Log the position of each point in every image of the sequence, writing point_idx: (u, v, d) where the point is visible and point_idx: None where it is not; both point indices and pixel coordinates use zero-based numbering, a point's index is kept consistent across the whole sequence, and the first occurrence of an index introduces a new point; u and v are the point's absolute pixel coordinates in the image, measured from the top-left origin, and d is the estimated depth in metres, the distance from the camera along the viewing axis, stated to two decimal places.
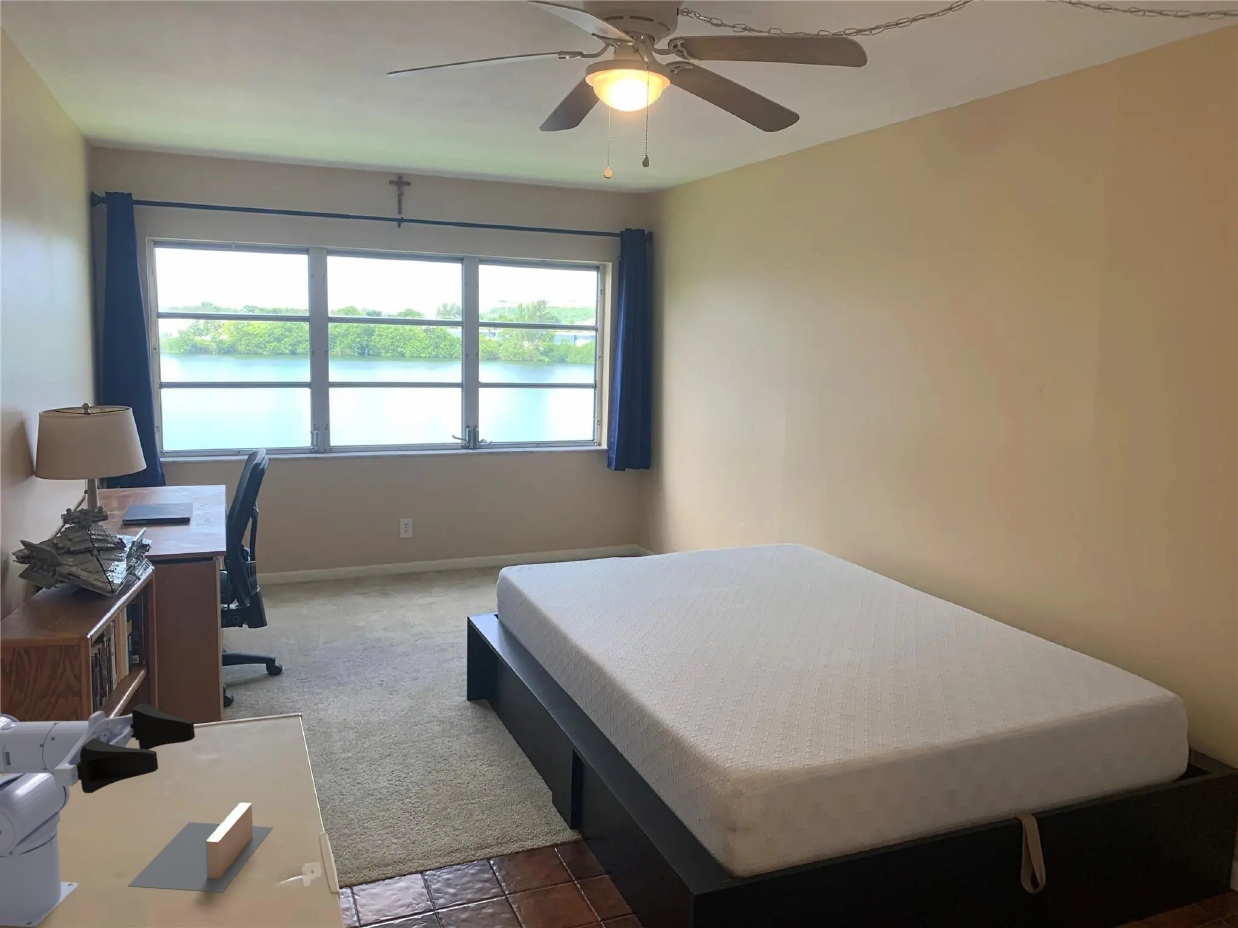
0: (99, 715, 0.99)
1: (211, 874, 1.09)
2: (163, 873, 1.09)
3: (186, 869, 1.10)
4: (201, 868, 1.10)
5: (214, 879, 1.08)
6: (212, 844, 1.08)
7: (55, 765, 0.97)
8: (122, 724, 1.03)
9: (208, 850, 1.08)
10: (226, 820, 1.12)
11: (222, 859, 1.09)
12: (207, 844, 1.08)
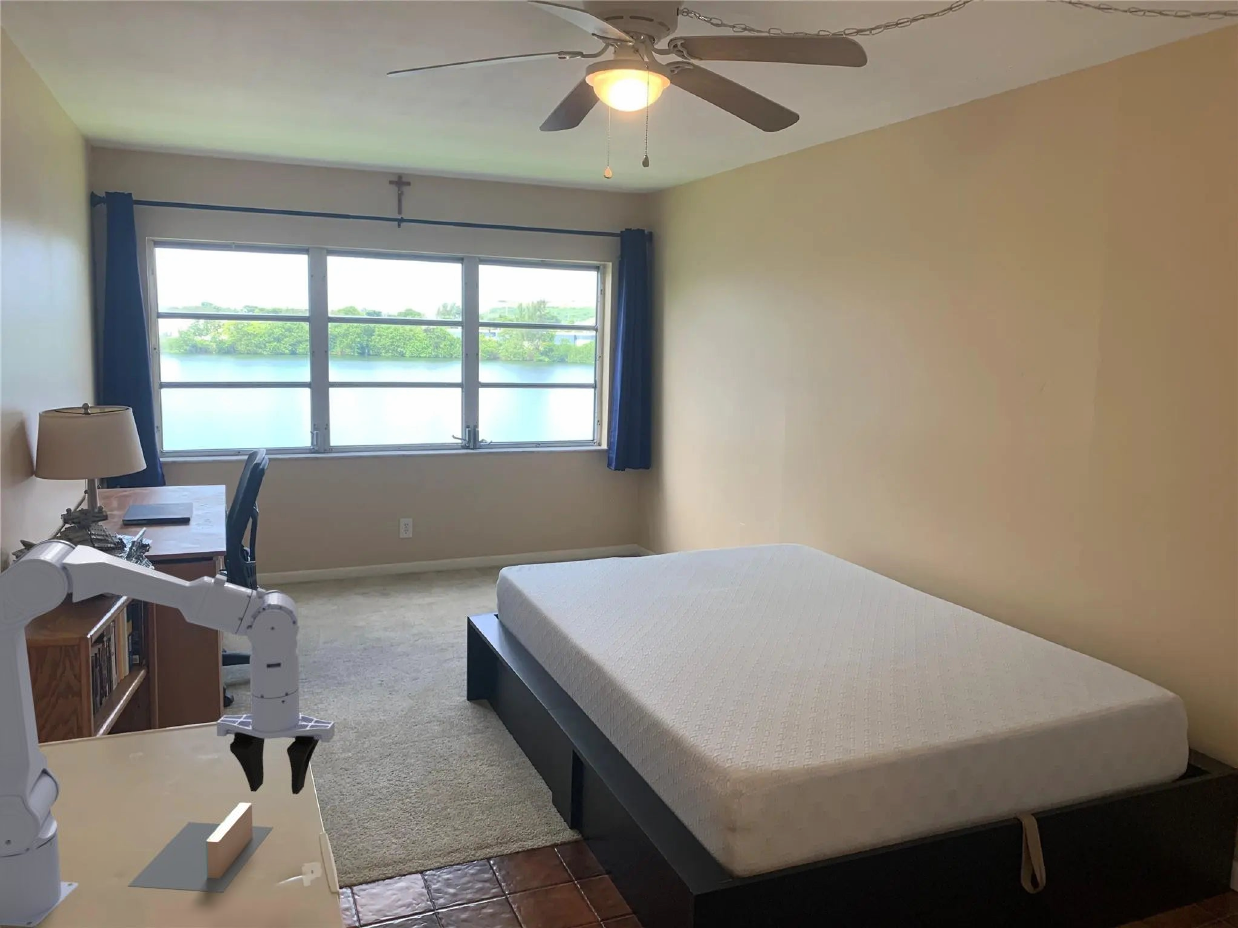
0: None
1: (211, 874, 1.09)
2: (163, 873, 1.09)
3: (186, 869, 1.10)
4: (201, 868, 1.10)
5: (214, 879, 1.08)
6: (212, 844, 1.08)
7: (292, 702, 1.08)
8: None
9: (208, 850, 1.08)
10: (226, 820, 1.12)
11: (222, 859, 1.09)
12: (207, 844, 1.08)
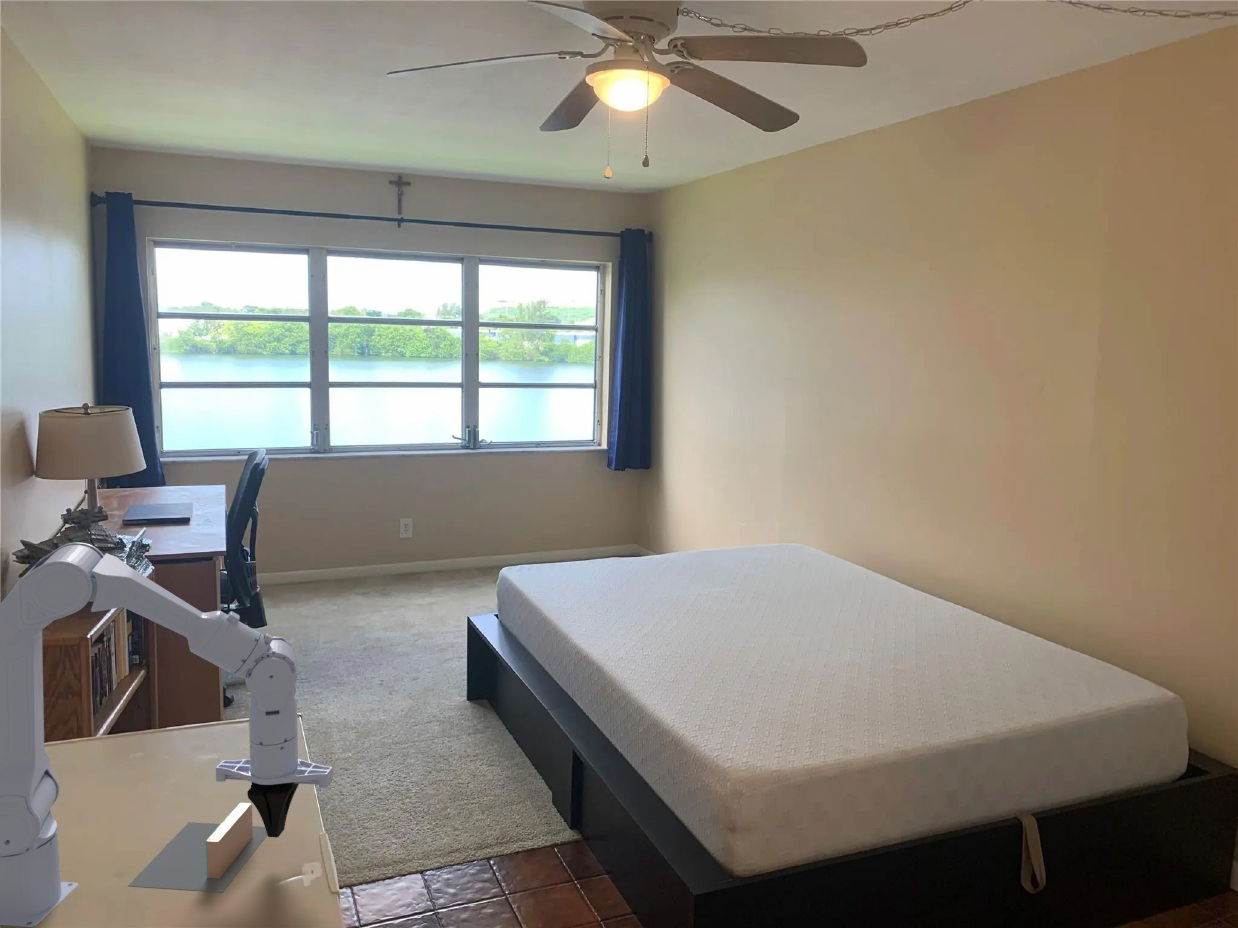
0: None
1: (211, 874, 1.09)
2: (163, 873, 1.09)
3: (186, 869, 1.10)
4: (201, 868, 1.10)
5: (214, 879, 1.08)
6: (212, 844, 1.08)
7: (291, 748, 1.09)
8: None
9: (208, 850, 1.08)
10: (226, 820, 1.12)
11: (222, 859, 1.09)
12: (207, 844, 1.08)
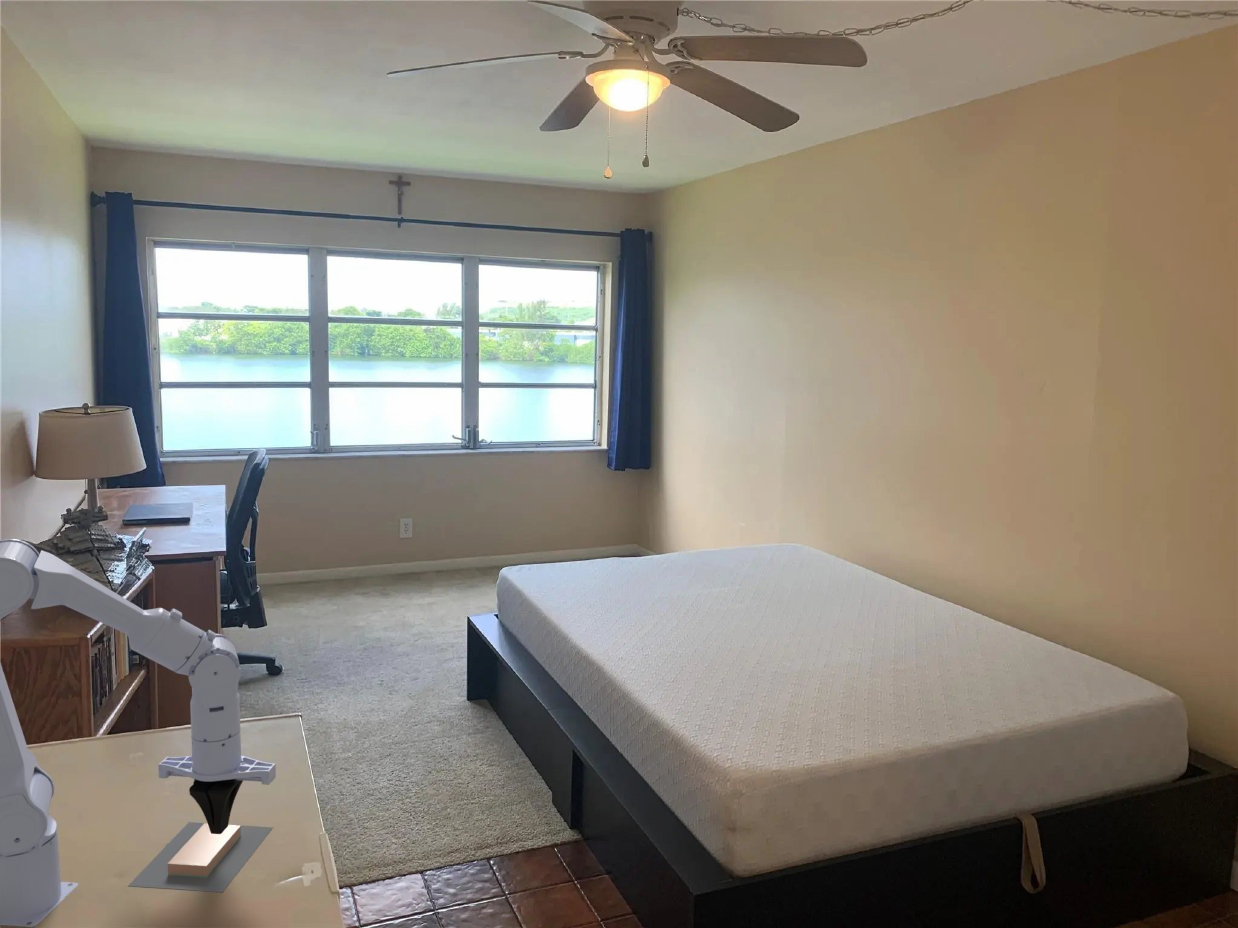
0: None
1: (203, 872, 1.09)
2: (163, 873, 1.09)
3: None
4: None
5: (214, 879, 1.08)
6: (170, 868, 1.09)
7: (233, 745, 1.10)
8: None
9: (177, 873, 1.09)
10: None
11: (194, 860, 1.09)
12: (171, 873, 1.09)
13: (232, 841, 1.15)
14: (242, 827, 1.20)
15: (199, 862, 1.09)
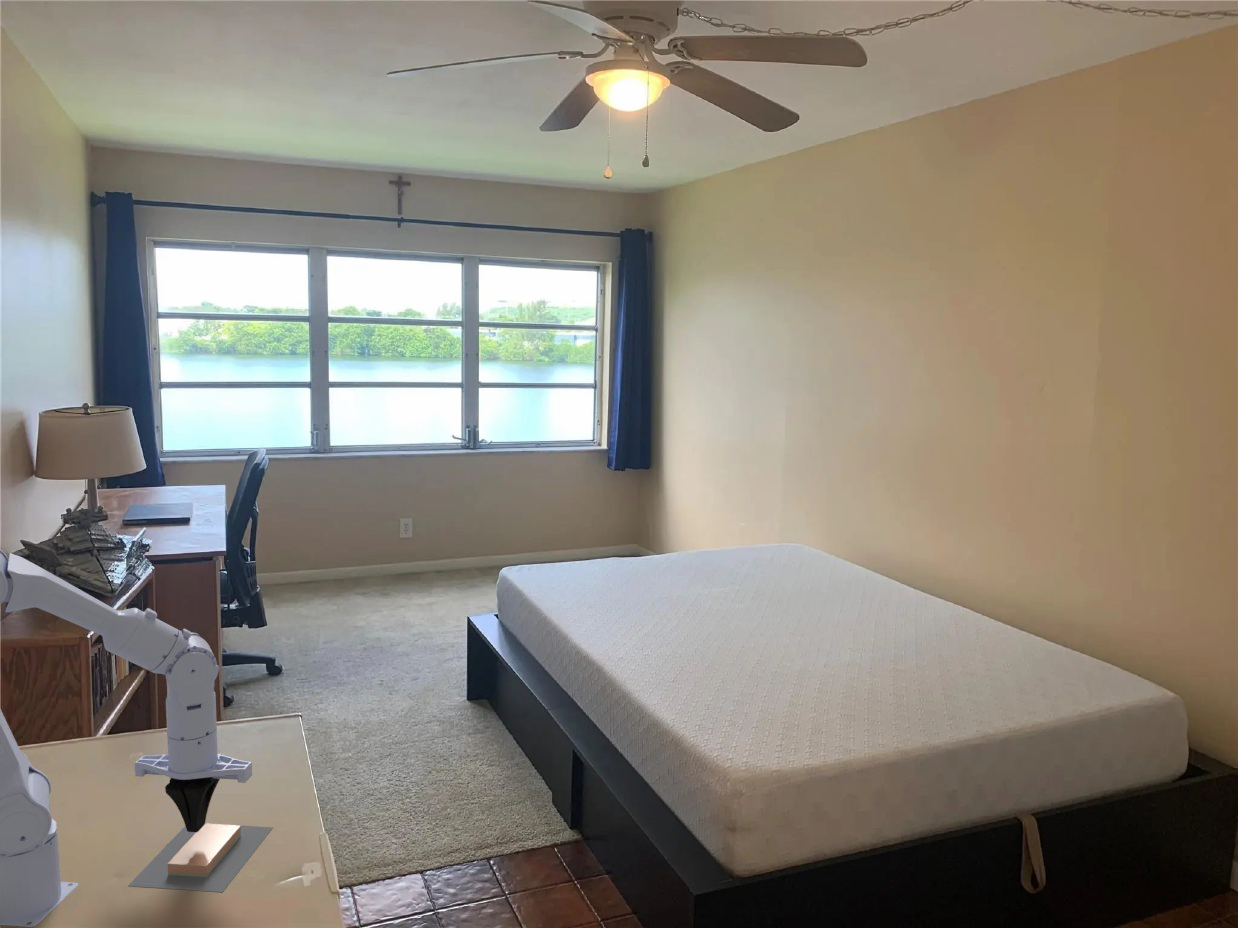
0: None
1: (203, 872, 1.09)
2: (163, 873, 1.09)
3: None
4: None
5: (214, 879, 1.08)
6: (170, 868, 1.09)
7: (209, 743, 1.10)
8: None
9: (177, 873, 1.09)
10: None
11: (194, 860, 1.09)
12: (171, 873, 1.09)
13: (232, 841, 1.15)
14: (242, 827, 1.20)
15: (199, 862, 1.09)
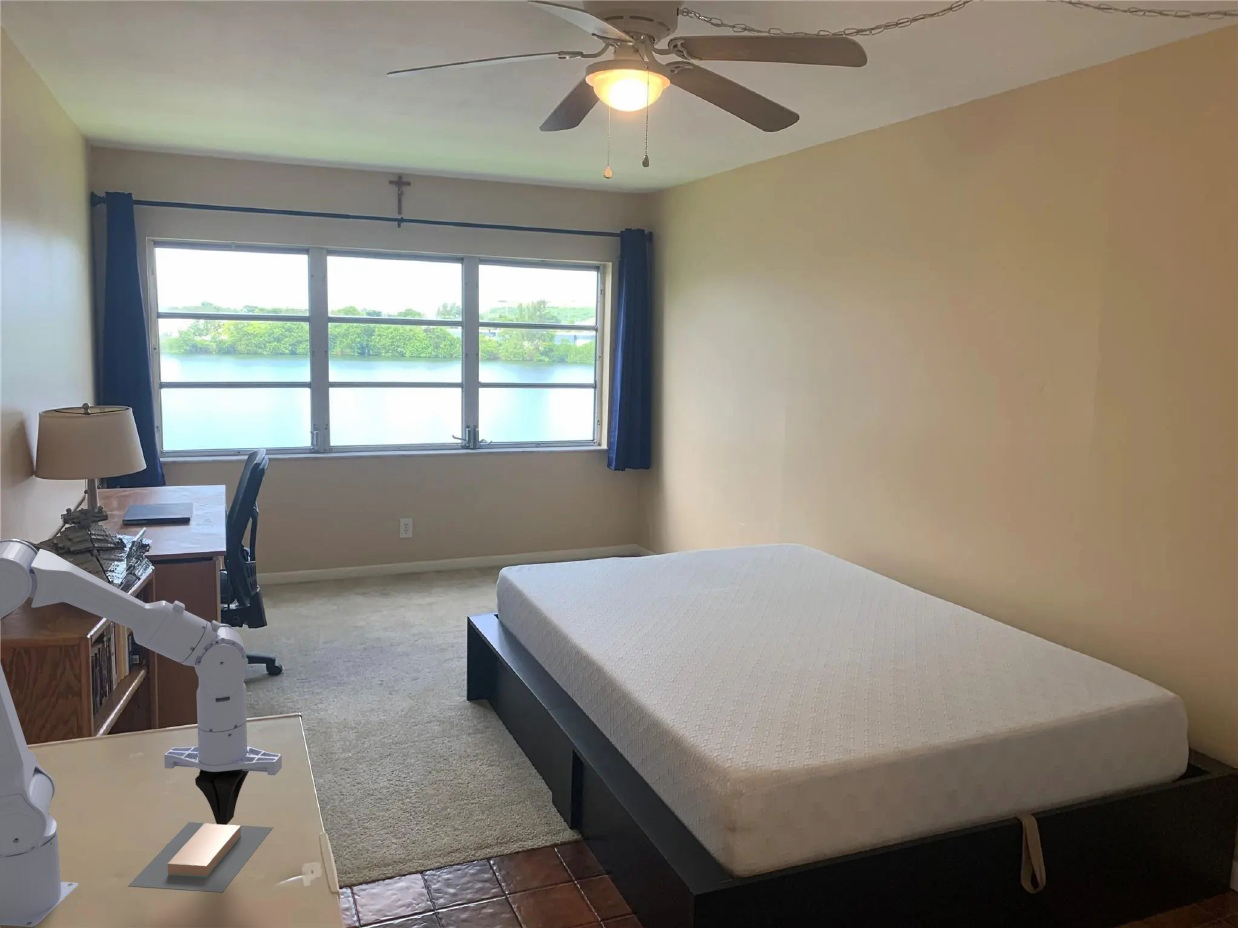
0: None
1: (203, 872, 1.09)
2: (163, 873, 1.09)
3: None
4: None
5: (214, 879, 1.08)
6: (170, 868, 1.09)
7: (239, 735, 1.09)
8: None
9: (177, 873, 1.09)
10: None
11: (194, 860, 1.09)
12: (171, 873, 1.09)
13: (232, 841, 1.15)
14: (242, 827, 1.20)
15: (199, 862, 1.09)
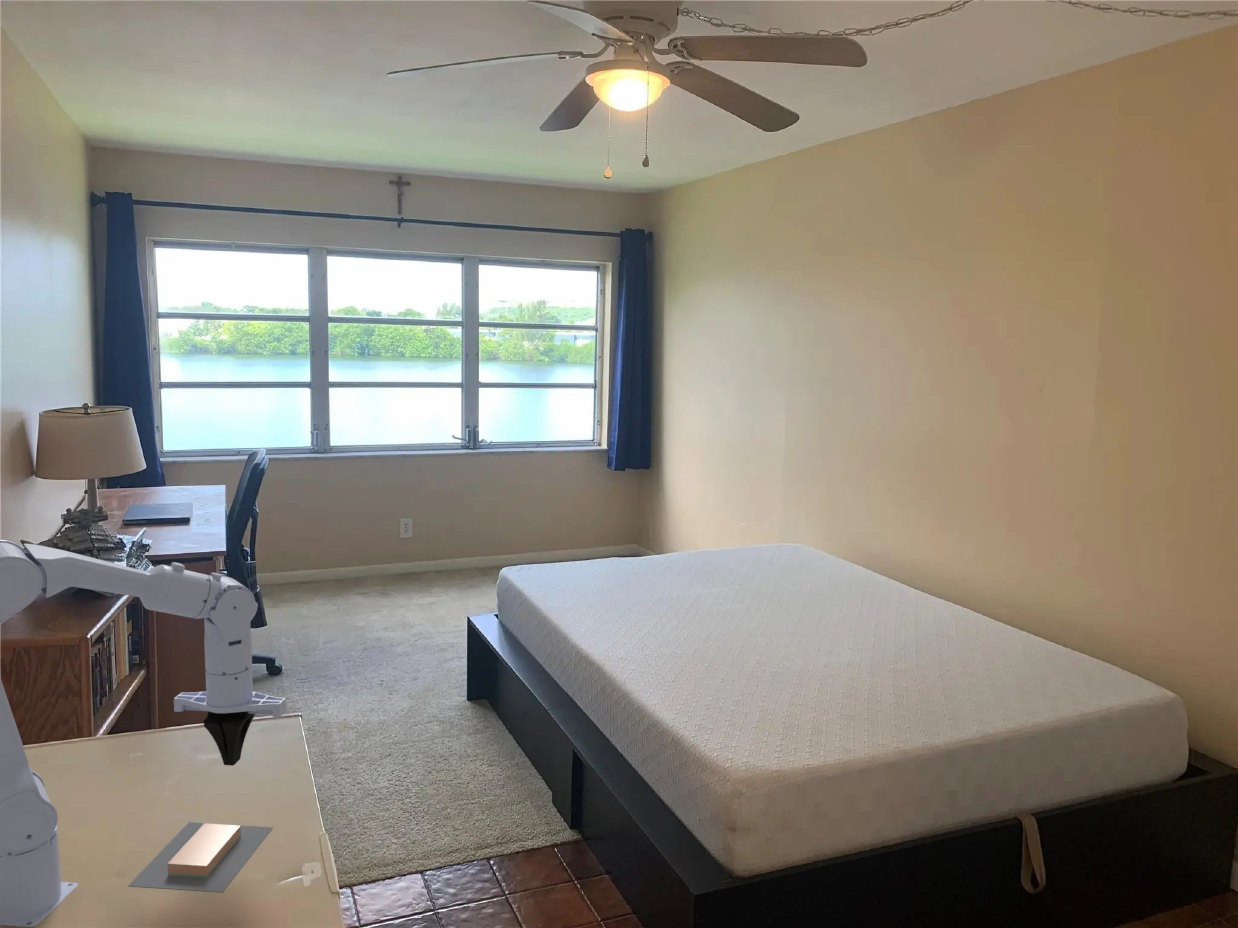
0: None
1: (203, 872, 1.09)
2: (163, 873, 1.09)
3: None
4: None
5: (214, 879, 1.08)
6: (170, 868, 1.09)
7: (245, 679, 1.15)
8: None
9: (177, 873, 1.09)
10: None
11: (194, 860, 1.09)
12: (171, 873, 1.09)
13: (232, 841, 1.15)
14: (242, 827, 1.20)
15: (199, 862, 1.09)
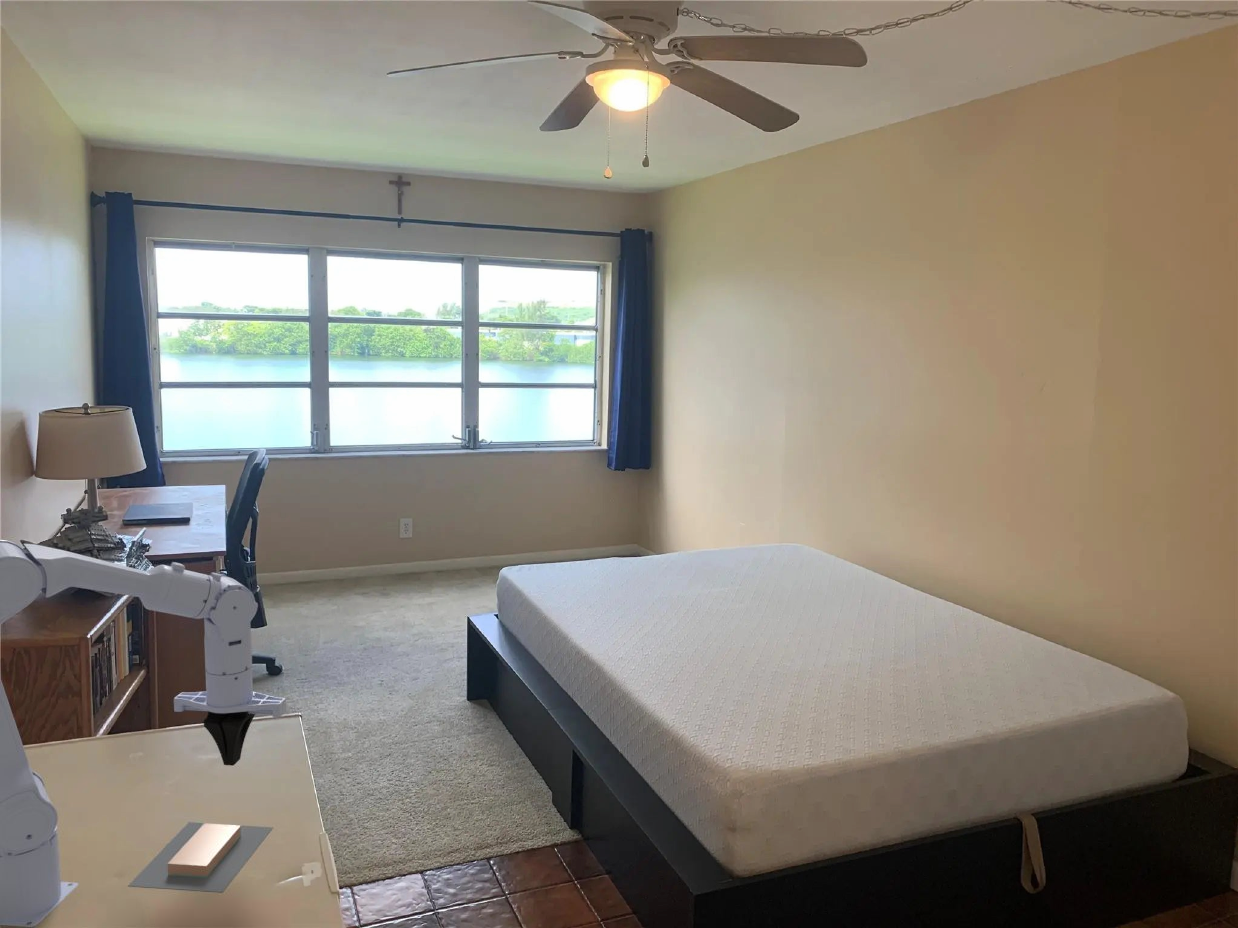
0: None
1: (203, 872, 1.09)
2: (163, 873, 1.09)
3: None
4: None
5: (214, 879, 1.08)
6: (170, 868, 1.09)
7: (245, 679, 1.15)
8: None
9: (177, 873, 1.09)
10: None
11: (194, 860, 1.09)
12: (171, 873, 1.09)
13: (232, 841, 1.15)
14: (242, 827, 1.20)
15: (199, 862, 1.09)
